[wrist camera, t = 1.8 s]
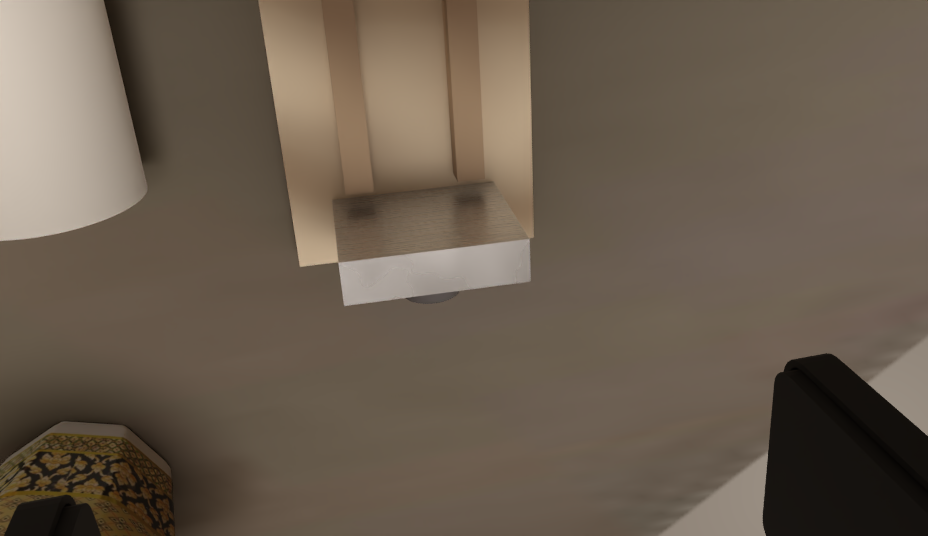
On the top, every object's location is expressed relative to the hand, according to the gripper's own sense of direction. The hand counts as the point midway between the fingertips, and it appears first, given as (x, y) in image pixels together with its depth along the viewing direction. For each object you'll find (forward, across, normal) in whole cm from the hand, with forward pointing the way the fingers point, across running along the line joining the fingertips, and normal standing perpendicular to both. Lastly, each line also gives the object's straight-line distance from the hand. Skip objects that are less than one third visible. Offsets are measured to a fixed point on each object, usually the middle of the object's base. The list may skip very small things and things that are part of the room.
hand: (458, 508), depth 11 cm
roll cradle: (+22, -2, -5) cm, 22 cm away
